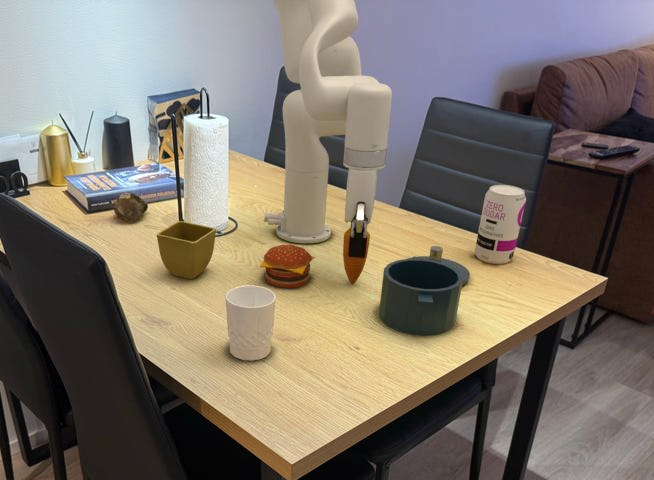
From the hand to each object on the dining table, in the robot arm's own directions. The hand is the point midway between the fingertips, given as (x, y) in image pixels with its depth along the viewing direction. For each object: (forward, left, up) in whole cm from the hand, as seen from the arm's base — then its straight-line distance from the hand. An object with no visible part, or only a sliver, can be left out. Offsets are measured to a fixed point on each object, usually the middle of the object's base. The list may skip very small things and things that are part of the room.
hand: (357, 247), depth 132 cm
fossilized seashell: (-54, +29, -8) cm, 62 cm away
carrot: (0, +1, -8) cm, 8 cm away
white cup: (-16, -28, -8) cm, 34 cm away
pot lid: (+16, +8, -7) cm, 19 cm away
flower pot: (-33, 0, -8) cm, 34 cm away
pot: (+12, -11, -8) cm, 18 cm away
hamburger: (-13, +1, -8) cm, 16 cm away
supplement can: (+30, +20, -8) cm, 36 cm away
